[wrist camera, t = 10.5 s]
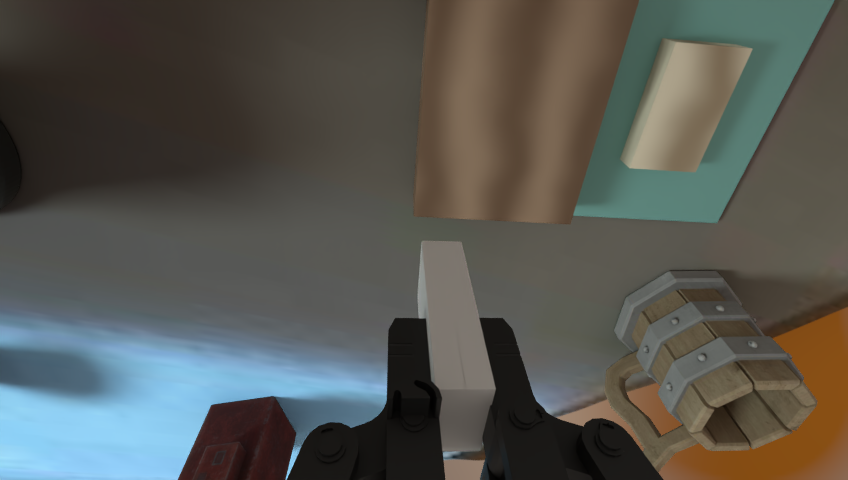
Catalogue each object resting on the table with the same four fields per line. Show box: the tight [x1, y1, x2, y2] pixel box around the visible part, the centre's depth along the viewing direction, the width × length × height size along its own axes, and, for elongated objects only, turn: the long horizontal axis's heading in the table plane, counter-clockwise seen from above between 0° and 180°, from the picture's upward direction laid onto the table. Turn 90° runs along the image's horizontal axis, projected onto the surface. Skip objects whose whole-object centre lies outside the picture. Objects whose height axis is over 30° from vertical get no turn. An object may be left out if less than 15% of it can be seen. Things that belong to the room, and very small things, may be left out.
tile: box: [620, 38, 753, 172], centre depth 35 cm, size 6×10×2 cm, turn 176°
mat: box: [573, 0, 835, 223], centre depth 36 cm, size 16×22×1 cm
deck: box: [413, 0, 639, 224], centre depth 33 cm, size 14×20×4 cm
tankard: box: [605, 271, 817, 472], centre depth 45 cm, size 20×13×15 cm, turn 134°
